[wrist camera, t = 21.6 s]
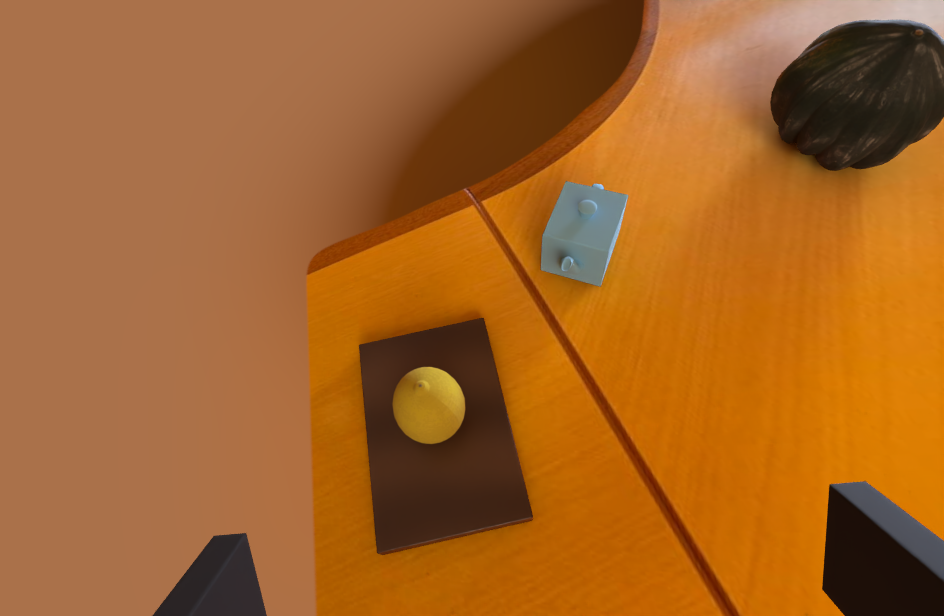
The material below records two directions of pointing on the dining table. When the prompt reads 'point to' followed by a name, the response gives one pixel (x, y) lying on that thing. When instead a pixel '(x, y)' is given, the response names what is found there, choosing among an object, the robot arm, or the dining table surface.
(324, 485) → the dining table surface
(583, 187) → the knobbed blue-grey cube
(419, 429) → the lemon
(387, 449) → the cutting board
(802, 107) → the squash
